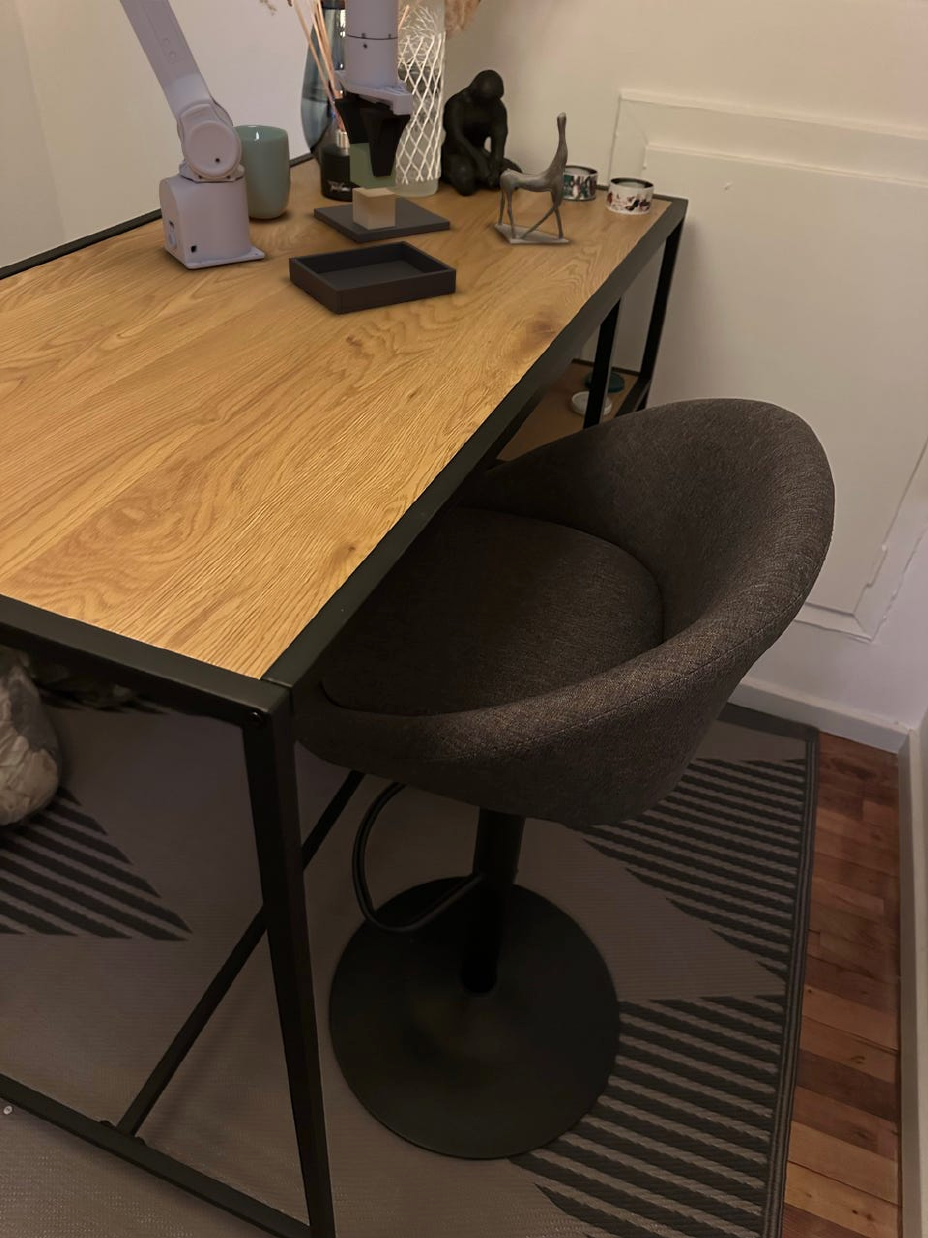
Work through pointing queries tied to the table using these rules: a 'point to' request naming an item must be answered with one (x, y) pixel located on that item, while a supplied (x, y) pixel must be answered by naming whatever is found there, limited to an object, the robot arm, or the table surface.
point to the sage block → (367, 169)
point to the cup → (265, 169)
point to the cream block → (373, 208)
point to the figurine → (536, 183)
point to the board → (406, 223)
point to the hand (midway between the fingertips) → (372, 170)
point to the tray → (371, 276)
